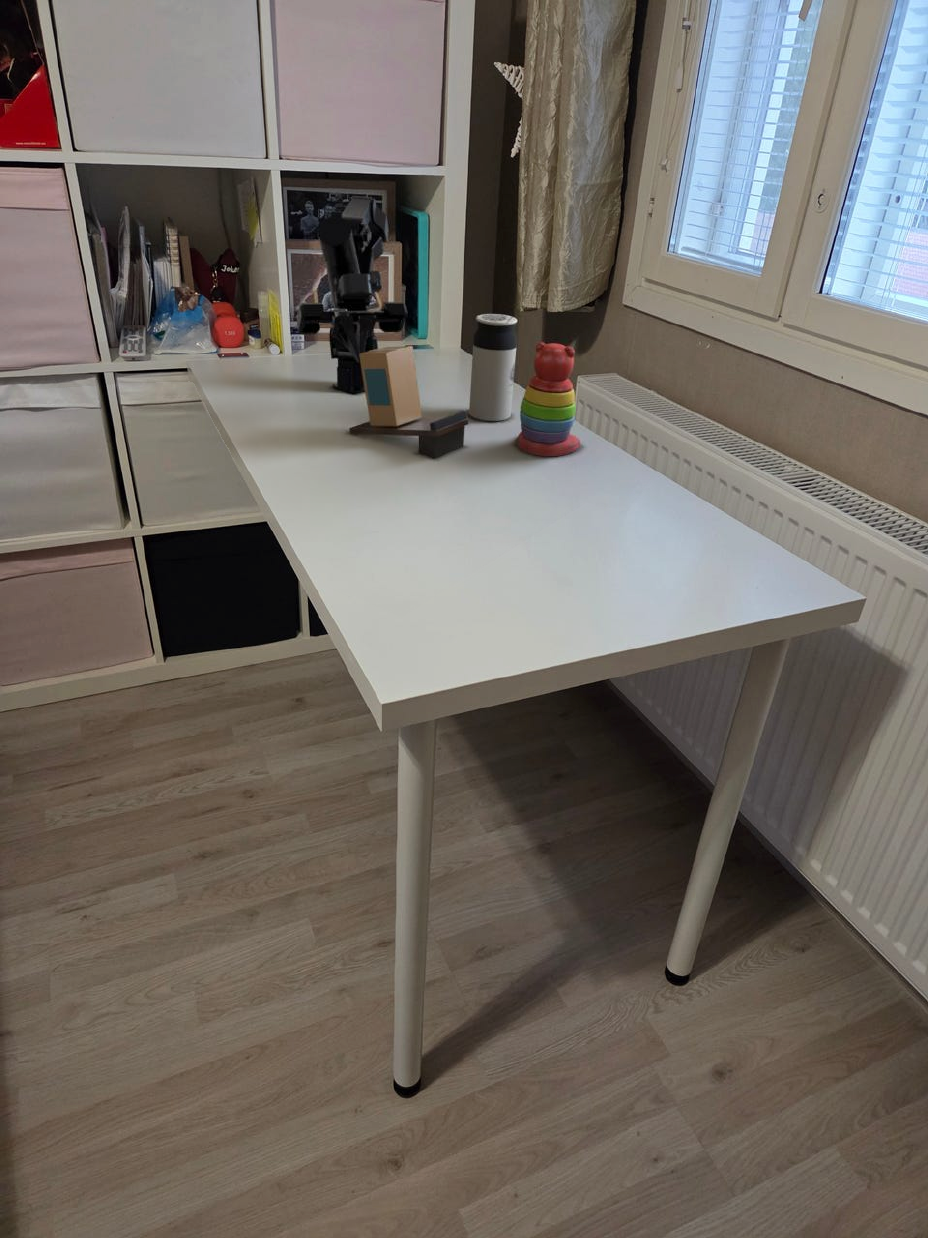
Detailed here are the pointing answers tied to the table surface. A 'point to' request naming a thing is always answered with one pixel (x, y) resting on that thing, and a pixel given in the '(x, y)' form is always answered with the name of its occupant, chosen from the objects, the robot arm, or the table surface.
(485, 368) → the travel mug
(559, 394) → the stacking bear
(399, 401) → the carton
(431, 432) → the ramp
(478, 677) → the table surface
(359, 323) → the robot arm
